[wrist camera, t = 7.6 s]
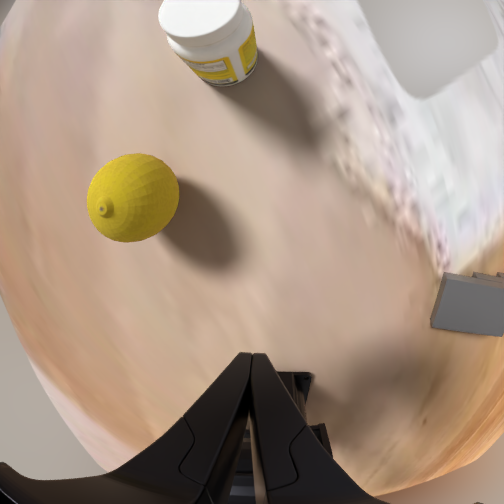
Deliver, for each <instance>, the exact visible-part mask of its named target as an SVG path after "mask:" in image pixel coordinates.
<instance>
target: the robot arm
mask: <svg viewBox="0 0 504 504" xmlns="http://www.w3.org/2000/svg"><path fill="white" fill-rule="evenodd" d="M305 377H306V378H305ZM310 382H311V374H310V373H308V372H276V370H275V369H274V367H273V365H272V363H271V362H270V360H269V358H268V356H267V355H266V354H265V353H254V354H253V355H252V353H247V352H240V353H239V354H238V355H237V356H236V357H235V358H234V359H233V360H232V362H231V363H230V364H229V365H228V366H227V367H226V368H225V370H224V371H223V372H222V373H221V374H220V375H219V376H218V378H217V379H216V380H215V381H214V382H213V383H212V384H211V385H210V387H209V388H208V389H207V390H206V391H205V392H204V393H203V394H202V395H201V396H200V398H199V399H198V400H197V401H196V402H195V403H194V404H193V405H192V406H191V407H190V408H189V409H188V410H187V412H186V413H185V414H184V415H183V417H181V418H180V419H179V420H178V421H177V422H176V423H175V424H174V425H173V426H172V427H171V428H170V429H169V430H168V431H167V432H166V433H165V434H164V435H162V436H161V437H160V438H159V439H157V440H156V441H155V442H154V443H152V444H151V445H150V446H149V447H147V448H146V449H144V450H143V451H142V452H140V453H139V454H138V455H136V456H135V457H133V458H132V459H131V460H129V461H128V462H126V463H125V464H123V465H122V466H120V467H119V468H117V469H115V470H113V471H111V472H109V473H106V474H103V475H99V476H92V477H84V478H75V479H62V480H35V479H30V478H27V477H24V476H22V475H20V474H19V473H18V472H16V471H15V470H14V469H12V468H11V467H10V466H9V465H7V464H6V463H4V462H0V504H390V503H387V502H384V501H381V500H379V499H377V498H374V497H373V496H371V495H369V494H368V493H366V492H365V491H364V490H362V489H361V488H360V487H359V486H358V485H357V484H356V483H355V482H354V481H353V480H352V479H351V478H350V476H349V475H348V474H347V473H346V472H345V471H344V470H343V469H342V468H341V467H340V466H339V465H338V464H337V462H336V461H335V460H334V459H333V455H332V450H331V446H330V442H329V438H328V434H327V430H326V427H325V423H323V424H318V425H313V426H309V425H307V419H306V409H305V404H306V400H307V395H308V391H309V387H310ZM474 504H483V503H480V502H476V503H474Z"/></svg>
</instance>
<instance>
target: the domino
mask: <svg viewBox="0 0 504 504" xmlns="http://www.w3.org/2000/svg"><path fill="white" fill-rule="evenodd" d="M430 321H431V325H432V327H434V328H440V329H447V330H454V331H460V332H468V333H475V334H483V335H491V336H499V337H502V336H503V333H504V283H499V282H494V281H489V280H484V279H478V278H473V277H468V276H462V275H457V274H452V273H446V272H444V274H443V277H442V281H441V285H440V289H439V292H438V295H437V299H436V302H435V305H434V309H433V312H432V315H431V318H430Z"/></svg>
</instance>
